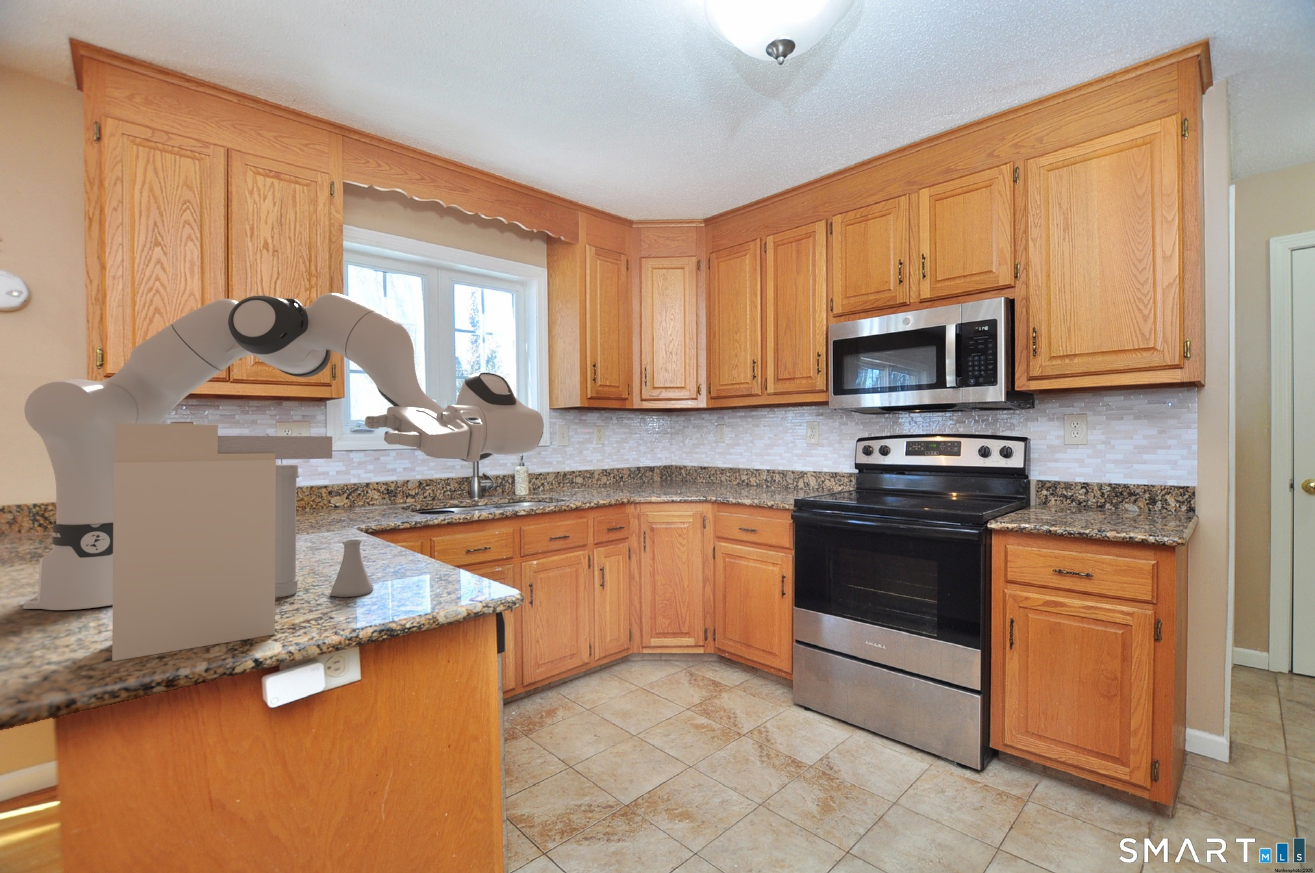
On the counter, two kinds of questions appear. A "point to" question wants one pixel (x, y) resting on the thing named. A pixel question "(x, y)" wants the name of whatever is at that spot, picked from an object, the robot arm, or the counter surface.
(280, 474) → the pipe
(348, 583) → the flask
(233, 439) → the bar
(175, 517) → the stepped beige panel
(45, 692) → the counter surface
